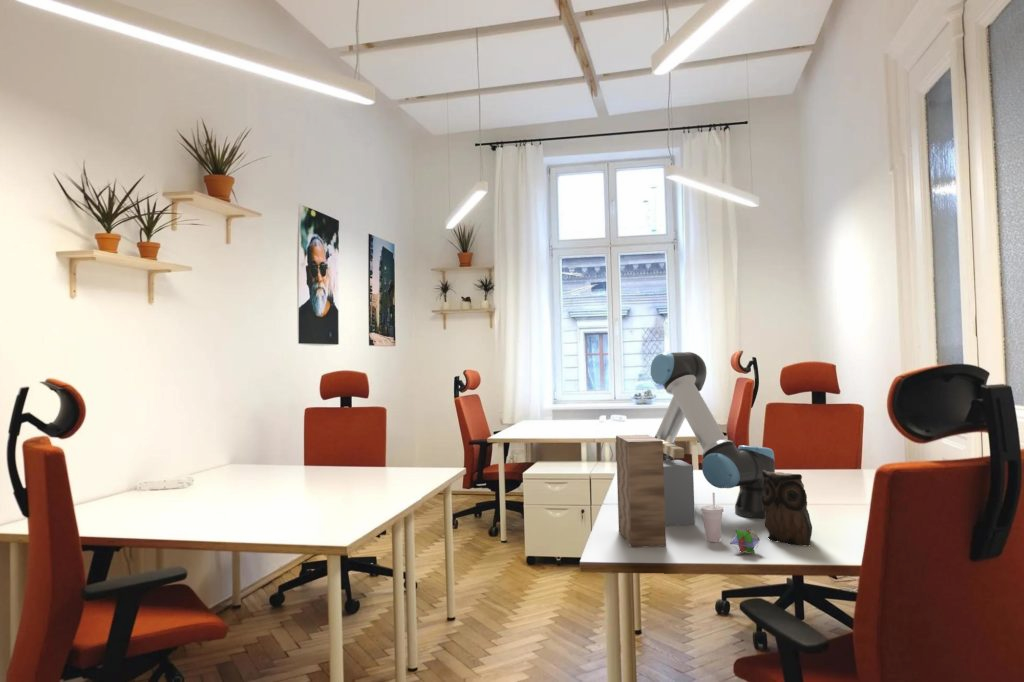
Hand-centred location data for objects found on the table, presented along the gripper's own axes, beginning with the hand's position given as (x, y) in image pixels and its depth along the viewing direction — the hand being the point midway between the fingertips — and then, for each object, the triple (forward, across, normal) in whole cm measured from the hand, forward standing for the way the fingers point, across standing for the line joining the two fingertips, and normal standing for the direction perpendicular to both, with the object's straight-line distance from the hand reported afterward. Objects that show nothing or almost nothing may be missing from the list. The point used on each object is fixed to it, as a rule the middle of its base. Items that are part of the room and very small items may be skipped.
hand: (665, 439), depth 228 cm
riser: (-7, 0, -26) cm, 27 cm away
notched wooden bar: (0, 0, -5) cm, 5 cm away
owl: (+18, -27, -41) cm, 52 cm away
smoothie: (+16, -4, -40) cm, 43 cm away
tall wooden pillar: (+12, +16, -37) cm, 42 cm away
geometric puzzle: (+28, -8, -47) cm, 55 cm away
